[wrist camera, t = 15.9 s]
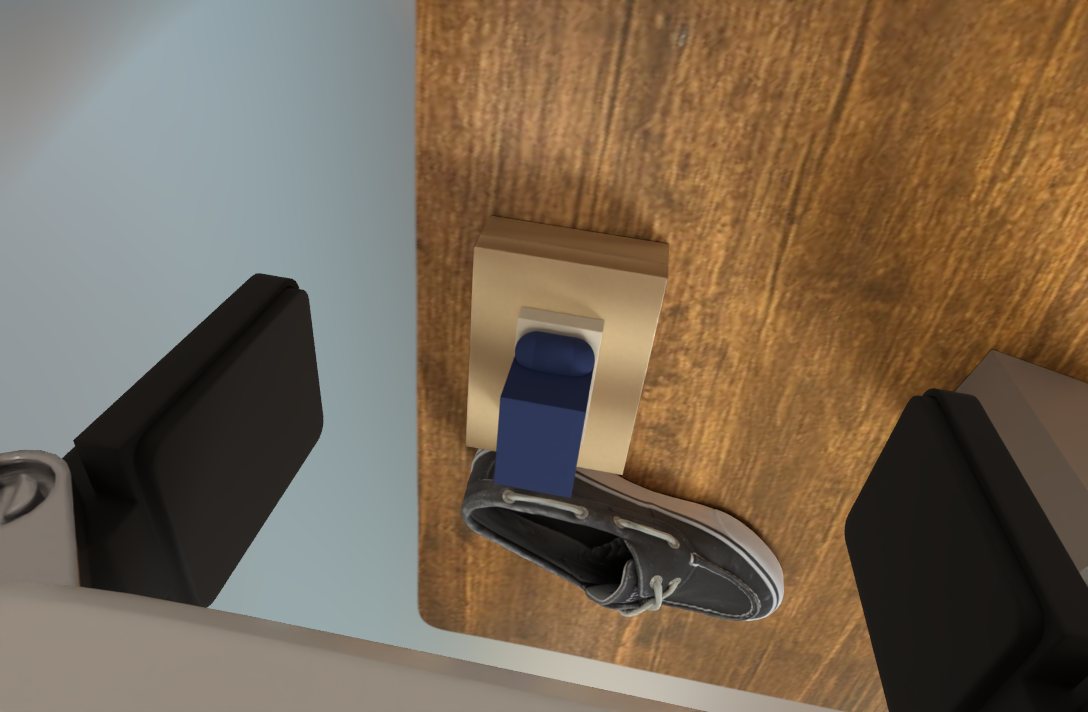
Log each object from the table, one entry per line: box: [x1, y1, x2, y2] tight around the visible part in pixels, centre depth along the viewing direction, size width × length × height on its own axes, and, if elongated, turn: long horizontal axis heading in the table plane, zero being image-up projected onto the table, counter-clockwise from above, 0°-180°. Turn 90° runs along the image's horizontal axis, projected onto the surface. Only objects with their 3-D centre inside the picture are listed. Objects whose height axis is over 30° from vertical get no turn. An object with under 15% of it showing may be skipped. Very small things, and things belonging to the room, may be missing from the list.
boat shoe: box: [462, 448, 784, 621], centre depth 46 cm, size 24×9×8 cm, turn 59°
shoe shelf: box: [466, 216, 669, 475], centre depth 40 cm, size 14×10×4 cm
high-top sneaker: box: [494, 307, 605, 498], centre depth 36 cm, size 8×4×6 cm, turn 174°
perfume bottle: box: [955, 349, 1088, 587], centre depth 32 cm, size 7×7×18 cm
